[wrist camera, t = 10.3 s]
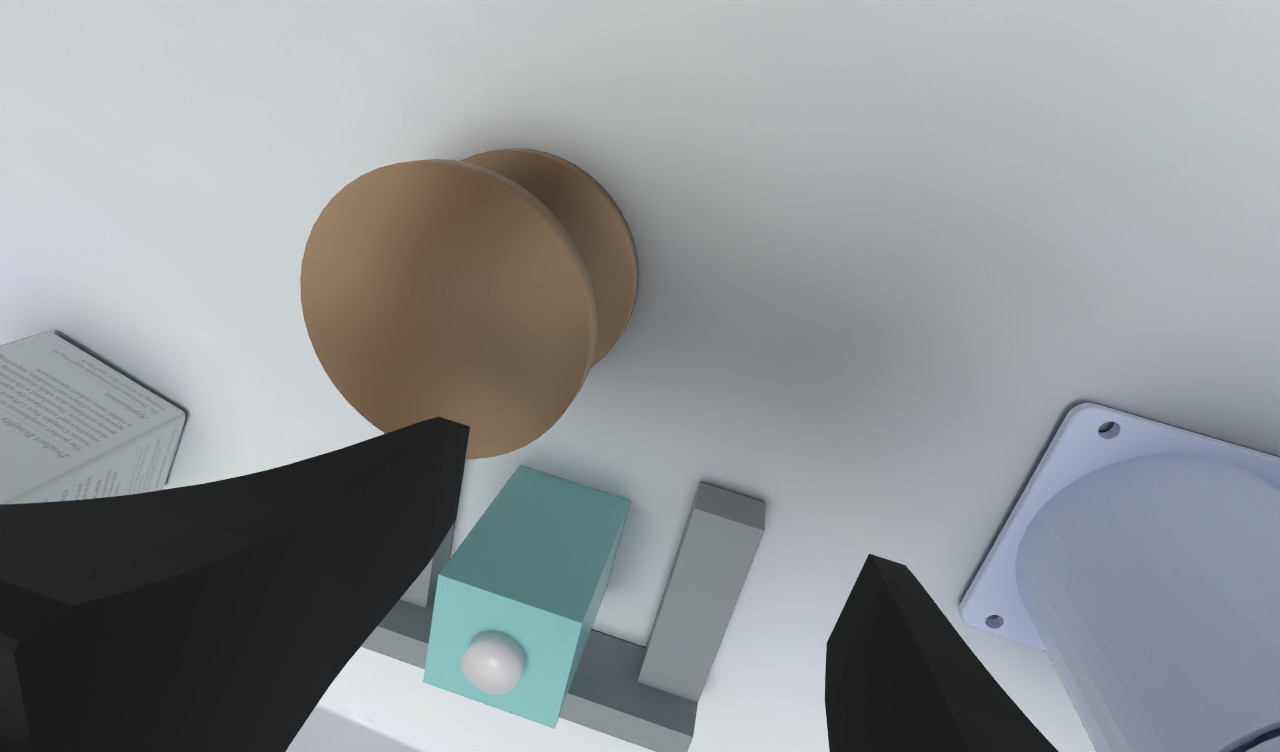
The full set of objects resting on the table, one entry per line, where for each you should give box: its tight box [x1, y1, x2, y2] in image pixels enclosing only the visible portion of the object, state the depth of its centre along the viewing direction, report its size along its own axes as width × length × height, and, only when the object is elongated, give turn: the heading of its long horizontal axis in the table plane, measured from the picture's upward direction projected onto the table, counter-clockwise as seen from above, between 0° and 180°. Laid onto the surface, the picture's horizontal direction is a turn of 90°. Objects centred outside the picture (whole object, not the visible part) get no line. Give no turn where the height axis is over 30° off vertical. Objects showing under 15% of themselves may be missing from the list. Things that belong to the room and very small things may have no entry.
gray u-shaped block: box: [361, 433, 765, 752], centre depth 23 cm, size 12×9×3 cm
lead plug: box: [423, 465, 631, 729], centre depth 21 cm, size 4×4×7 cm
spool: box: [300, 149, 638, 459], centre depth 18 cm, size 7×7×6 cm
